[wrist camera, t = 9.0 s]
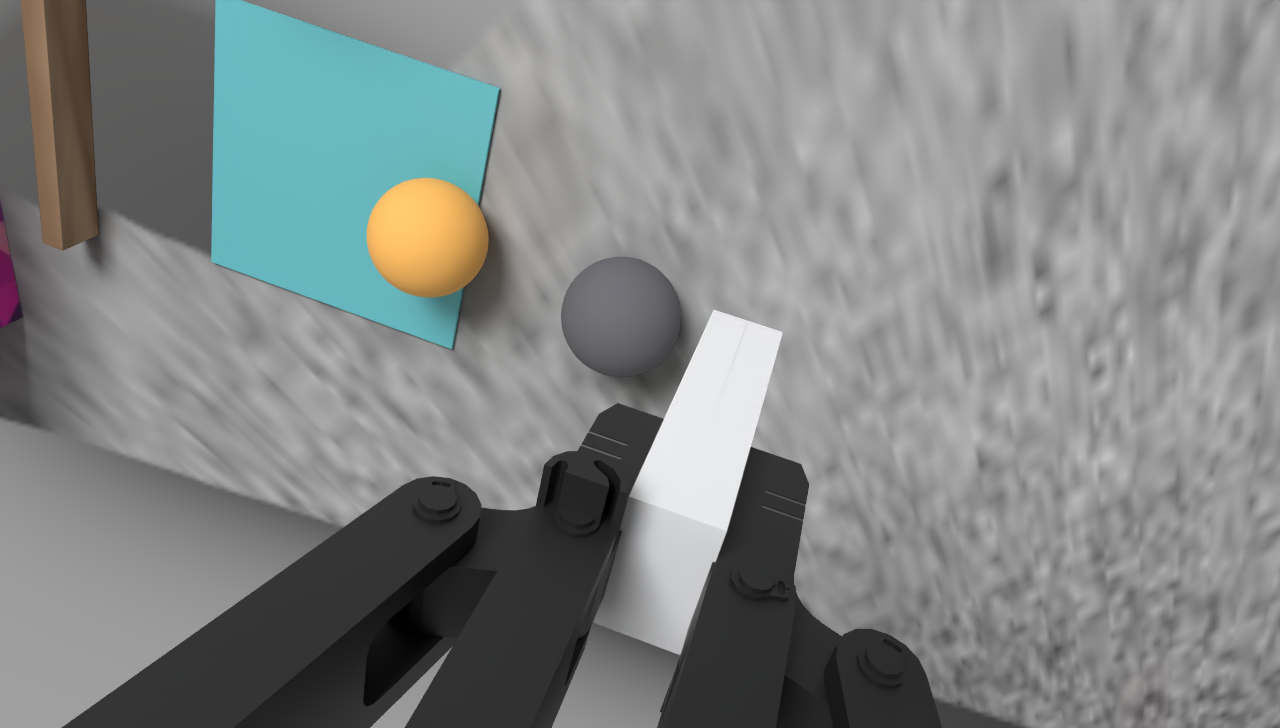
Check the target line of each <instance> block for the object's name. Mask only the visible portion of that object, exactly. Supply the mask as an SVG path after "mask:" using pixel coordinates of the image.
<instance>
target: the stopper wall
mask: <svg viewBox="0 0 1280 728" xmlns="http://www.w3.org/2000/svg"><path fill="white" fill-rule="evenodd" d="M21 9H22V20H23V31H24V42H25V53H26V64H27V74H28V86H29V98H30V108H31V120H32V131H33V141H34V153H35V162H36V174H37V186H38V197H39V208H40V219H41V230H42V241H43V243H44V244H47V245H49V246H52V247H55V248H58V249H60V250H65V249H67V248H70V247H72V246H74V245H77V244H79V243H81V242H83V241H86V240H88V239H90V238H93V237H95V236H97V235H99V232H98V214H97V198H96V197H97V196H96V179H95V178H96V177H95V160H94V143H93V142H94V141H93V125H92V124H93V123H92V105H91V87H90V68H89V50H88V32H87V13H86V0H21Z"/></svg>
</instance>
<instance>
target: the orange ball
mask: <svg viewBox="0 0 1280 728" xmlns="http://www.w3.org/2000/svg"><path fill="white" fill-rule="evenodd" d="M488 241H489V237H488V228H487V224H486V221H485V218H484V216H483V213H482V212H481V210H480V208H479V206H478V205H477V204H476V202H475V201H474V200H473V199H472V198H471V197H470V196H469V195H468V194H467V193H466V192H465V191H463V190H462V189H461V188H459V187H457V186H456V185H454V184H452V183H449V182H447V181H444V180H440V179H434V178H417V179H411V180H408V181H405V182H402V183H400V184H398V185H396V186H394V187H393V188H391V189H390V190H388V191H387V192H386V193H385V194H384V195H383V196H382V197H381V198H380V199H379V201H378V202H377V203H376V205H375V206H374V208H373V210H372V212H371V215H370V218H369V221H368V225H367V246H368V251H369V254H370V257H371V259H372V262H373V264H374V265H375V267H376V269H377V270H378V271H379V273H380V274H381V275H382V277H383V278H384V279H385V280H386V281H387V282H389V283H390V284H391V285H393V286H394V287H396V288H397V289H399V290H401V291H403V292H405V293H407V294H410V295H414V296H418V297H427V298H430V297H441V296H445V295H449V294H451V293H454V292H456V291H458V290H460V289H461V288H463V287H465V286H466V285H467V284H468V283H469V282H471V281H472V280H473V278H474V277H475V276H476V275H477V274H478V272H479V271H480V269H481V267H482V266H483V263H484V261H485V258H486V255H487V251H488Z"/></svg>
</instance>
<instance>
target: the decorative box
mask: <svg viewBox="0 0 1280 728" xmlns="http://www.w3.org/2000/svg"><path fill="white" fill-rule="evenodd" d="M22 317H23V314H22V309H21V304H20V299H19V294H18V289H17V283H16V278H15V273H14V268H13V263H12V258H11V253H10V248H9V243H8V238H7V233H6V228H5V223H4V218H3V213H2V207H1V202H0V328H2V327H4V326H6V325H8V324H10V323H12V322H14V321H16V320H18V319H20V318H22Z"/></svg>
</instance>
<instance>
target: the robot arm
mask: <svg viewBox="0 0 1280 728" xmlns="http://www.w3.org/2000/svg"><path fill="white" fill-rule="evenodd" d="M782 333H783V332H780V331H777V330H774V329H771V328H768V327H765V326H762V325H759V324H756V323H753V322H750V321H747V320H744V319H741V318H737V317H734V316H731V315H728V314H725V313H722V312H719V311H716V310H713V313H712V315H711V317H710V319H709V321H708V324H707V326H706V328H705V330H704V332H703V335H702V337H701V339H700V341H699V343H698V346H697V348H696V350H695V352H694V354H693V357H692V359H691V361H690V363H689V365H688V368H687V370H686V372H685V374H684V376H683V379H682V381H681V383H680V385H679V387H678V390H677V392H676V394H675V396H674V398H673V401H672V403H671V405H670V407H669V409H668V412H667V414H666V416H665V418H664V419H662V418H660V417H657V416H654V415H651V414H648V413H645V412H642V411H639V410H636V409H633V408H630V407H628V406H625V405H622V404H619V403H617V404H616V405H614V406H612V407H610V408H609V409H607V410H605V411H603V412H602V413H600V414H599V415H598V417H597V418H596V420H595V422H594V424H593V425H592V427H591V429H590V431H589V433H588V434H587V436H586V437H585V439H584V441H583V442H582V445H581V446H580V448H579V449H578V451H567V452H564V453H561V454H558V455H555V456H553V457H552V458H551V459H550V460H549V461H548V462H547V463H546V464H545V465H544V469H543V474H542V479H541V484H540V489H539V493H538V498H537V503H536V506H534V507H532V508H529V509H523V510H496V509H487V508H481V503H480V501H479V499H478V496H477V494H476V493H475V492H474V491H473V490H471V489H470V488H469V487H468V486H467V485H465V484H463V483H461V482H458V481H456V480H453V479H451V478H443V477H434V476H432V477H426V478H419V479H415V480H413V481H411V482H409V483H407V484H405V485H403V486H401V487H400V488H398V489H397V490H396V491H394V492H393V493H391V494H390V495H389V496H387V497H386V498H384V499H383V500H382V501H380V502H379V503H377V504H376V505H375V506H373V507H372V508H370V509H369V510H367V511H366V512H365V513H363V514H362V515H360V516H359V517H358V518H356V519H355V520H353V521H352V522H351V523H349V524H348V525H346V526H345V527H344V528H342V529H341V530H339V531H338V532H337V533H335V534H334V535H332V536H331V537H329V538H328V539H327V540H325V541H324V542H323V543H321V544H320V545H318V546H317V547H315V548H314V549H313V550H311V551H310V552H308V553H307V554H306V555H304V556H303V557H302V558H300V559H298V560H297V561H296V562H294V563H293V564H291V565H290V566H289V567H287V568H286V569H284V570H283V571H282V572H280V573H279V574H277V575H276V576H275V577H273V578H272V579H270V580H269V581H268V582H266V583H265V584H263V585H262V586H260V587H259V588H258V589H256V590H255V591H254V592H252V593H251V594H249V595H248V596H246V597H245V598H244V599H242V600H241V601H239V602H238V603H237V604H235V605H234V606H233V607H231V608H230V609H228V610H227V611H225V612H224V613H222V614H221V615H220V616H218V617H217V618H215V619H214V620H213V621H211V622H210V623H208V624H207V625H206V626H204V627H203V628H201V629H200V630H199V631H197V632H196V633H194V634H193V635H191V636H190V637H189V638H187V639H186V640H184V641H183V642H182V643H180V644H179V645H177V646H176V647H175V648H173V649H172V650H170V651H169V652H168V653H166V654H165V655H163V656H162V657H161V658H159V659H158V660H156V661H155V662H153V663H152V664H151V665H149V666H148V667H146V668H145V669H144V670H142V671H141V672H139V673H138V674H137V675H135V676H134V677H132V678H131V679H130V680H128V681H127V682H125V683H124V684H122V685H121V686H120V687H118V688H117V689H116V690H114V691H113V692H111V693H110V694H108V695H107V696H106V697H104V698H103V699H101V700H100V701H99V702H97V703H96V704H94V705H93V706H91V707H90V708H89V709H87V710H86V711H84V712H83V713H82V714H80V715H79V716H77V717H76V718H75V719H73V720H72V721H70V722H69V723H68V724H66V725H65V726H63V727H62V728H370V727H371V726H372V725H373V724H374V723H375V722H376V721H377V720H378V719H379V718H380V717H381V716H382V715H383V714H384V713H385V712H386V711H387V710H388V709H389V708H390V707H391V706H392V705H393V704H394V703H395V702H396V701H397V700H399V699H400V698H401V697H402V696H403V694H405V693H406V692H407V690H409V689H410V688H411V687H412V686H413V685H414V684H415V683H416V682H417V681H418V680H419V679H420V678H421V677H422V676H423V675H424V674H425V673H426V672H427V671H428V670H429V669H430V668H431V667H432V666H433V665H434V664H435V663H436V662H437V661H438V660H439V659H440V658H441V657H442V656H443V655H444V654H445V653H446V652H447V651H448V650H449V649H450V648H451V647H452V646H453V647H452V649H451V650H450V652H449V654H448V655H447V657H446V659H445V660H444V662H443V664H442V665H441V667H440V669H439V671H438V672H437V674H436V676H435V677H434V679H433V681H432V682H431V684H430V686H429V688H428V689H427V691H426V693H425V694H424V696H423V698H422V700H421V701H420V703H419V704H418V706H417V708H416V710H415V711H414V713H413V715H412V716H411V718H410V720H409V721H408V723H407V725H406V726H405V728H552V725H553V723H554V721H555V718H556V716H557V713H558V711H559V709H560V706H561V704H562V702H563V699H564V697H565V694H566V692H567V690H568V687H569V684H570V682H571V680H572V678H573V675H574V673H575V670H576V668H577V666H578V663H579V661H580V658H581V656H582V654H583V651H584V649H585V645H586V642H587V638H588V635H589V631H590V628H591V625H592V623H593V620H594V623H596V624H599V625H601V626H604V627H607V628H609V629H612V630H615V631H617V632H620V633H623V634H625V635H628V636H631V637H634V638H636V639H639V640H641V641H644V642H647V643H649V644H652V645H655V646H657V647H660V648H663V649H666V650H668V651H671V652H674V653H676V654H679V655H680V658H679V661H678V664H677V667H676V669H675V672H674V675H673V678H672V680H671V683H670V686H669V688H668V691H667V694H666V697H665V699H664V702H663V705H662V708H661V710H660V712H662V714H661V717H660V720H659V723H658V727H657V728H942V726H941V723H940V720H939V717H938V713H937V710H936V706H935V703H934V699H933V696H932V693H931V689H930V686H929V682H928V679H927V676H926V673H925V671H924V669H923V667H922V665H921V663H920V661H919V659H918V658H917V657H916V656H915V655H914V654H913V653H912V652H911V650H910V649H909V648H908V647H907V646H906V645H904V644H903V643H901V642H900V641H898V640H897V639H895V638H893V637H892V636H890V635H888V634H885V633H882V632H879V631H876V630H873V629H855V630H853V631H850V632H848V633H846V634H844V635H843V636H840V635H839V634H837V633H836V632H834V631H833V630H831V629H830V628H828V627H827V626H825V625H824V624H822V623H821V622H820V621H819V620H817V619H816V618H815V617H813V616H812V615H811V614H810V612H809V611H808V610H807V609H806V608H805V607H804V606H803V604H802V603H801V601H800V599H799V598H798V596H797V593H796V587H795V585H794V572H795V566H796V560H797V554H798V548H799V542H800V536H801V530H802V524H803V522H802V521H803V518H804V512H805V505H806V500H807V494H808V488H809V483H808V480H807V478H806V475H805V473H804V470H803V468H802V466H801V464H799V463H796V462H793V461H791V460H788V459H785V458H782V457H779V456H776V455H773V454H770V453H767V452H764V451H761V450H758V449H756V448H753V447H751V444H752V440H753V436H754V433H755V429H756V426H757V422H758V419H759V415H760V412H761V408H762V404H763V401H764V397H765V394H766V390H767V387H768V383H769V380H770V376H771V372H772V369H773V365H774V362H775V358H776V355H777V351H778V348H779V344H780V340H781V337H782ZM594 618H595V619H594Z"/></svg>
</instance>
